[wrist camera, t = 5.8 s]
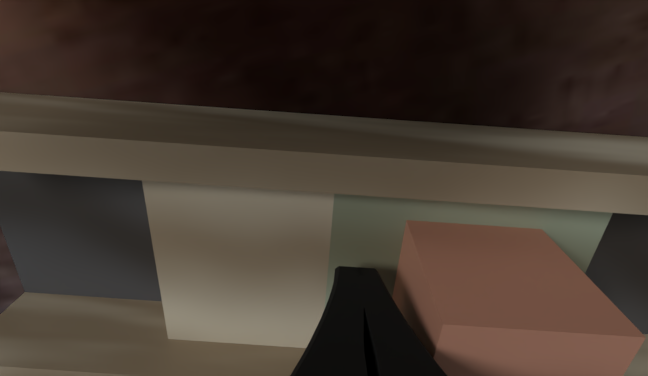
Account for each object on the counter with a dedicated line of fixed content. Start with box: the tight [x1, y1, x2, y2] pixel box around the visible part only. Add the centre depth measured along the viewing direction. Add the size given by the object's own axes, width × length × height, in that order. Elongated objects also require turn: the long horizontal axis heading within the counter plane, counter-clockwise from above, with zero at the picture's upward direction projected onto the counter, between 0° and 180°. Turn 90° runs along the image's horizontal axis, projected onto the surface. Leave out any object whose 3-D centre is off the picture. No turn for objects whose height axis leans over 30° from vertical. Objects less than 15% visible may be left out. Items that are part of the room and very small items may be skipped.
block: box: [392, 220, 646, 376], centre depth 10 cm, size 4×4×4 cm
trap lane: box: [0, 92, 648, 376], centre depth 12 cm, size 9×26×4 cm, turn 86°
